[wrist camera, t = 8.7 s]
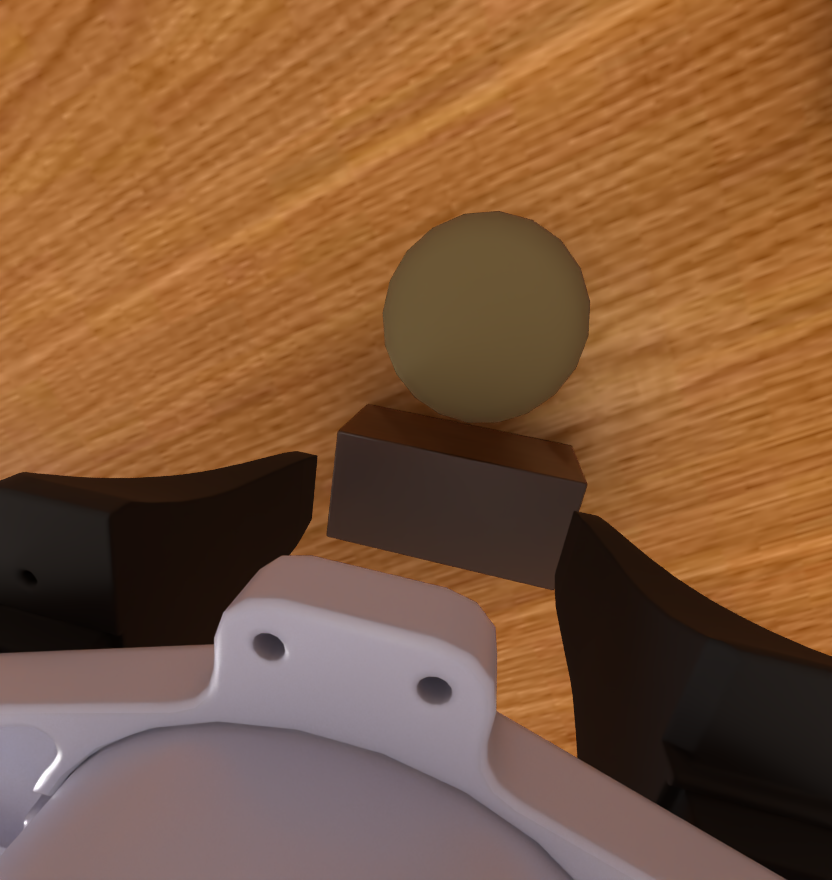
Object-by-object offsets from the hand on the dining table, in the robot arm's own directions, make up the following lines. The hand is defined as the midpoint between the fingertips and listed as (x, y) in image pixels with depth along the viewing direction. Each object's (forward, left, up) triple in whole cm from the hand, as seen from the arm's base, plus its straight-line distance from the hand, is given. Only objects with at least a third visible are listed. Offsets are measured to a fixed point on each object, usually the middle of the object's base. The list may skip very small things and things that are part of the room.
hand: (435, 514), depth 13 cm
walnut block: (-3, 0, -10) cm, 11 cm away
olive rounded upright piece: (+5, 0, -11) cm, 12 cm away
